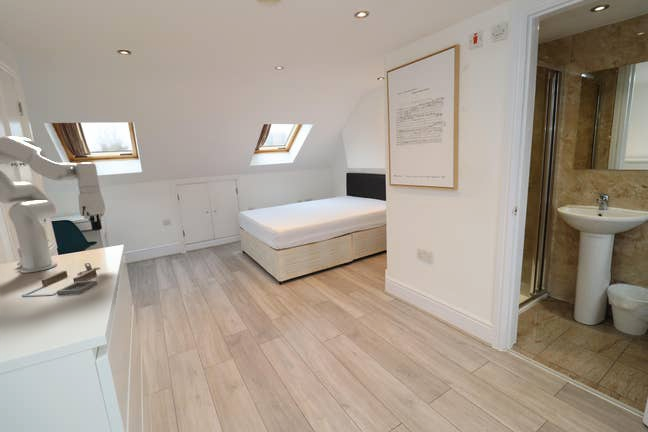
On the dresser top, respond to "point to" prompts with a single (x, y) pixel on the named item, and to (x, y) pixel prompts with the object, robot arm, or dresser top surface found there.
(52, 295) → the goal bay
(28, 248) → the robot arm
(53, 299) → the dresser top surface
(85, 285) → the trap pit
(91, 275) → the walled tunnel
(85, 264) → the strap clip
